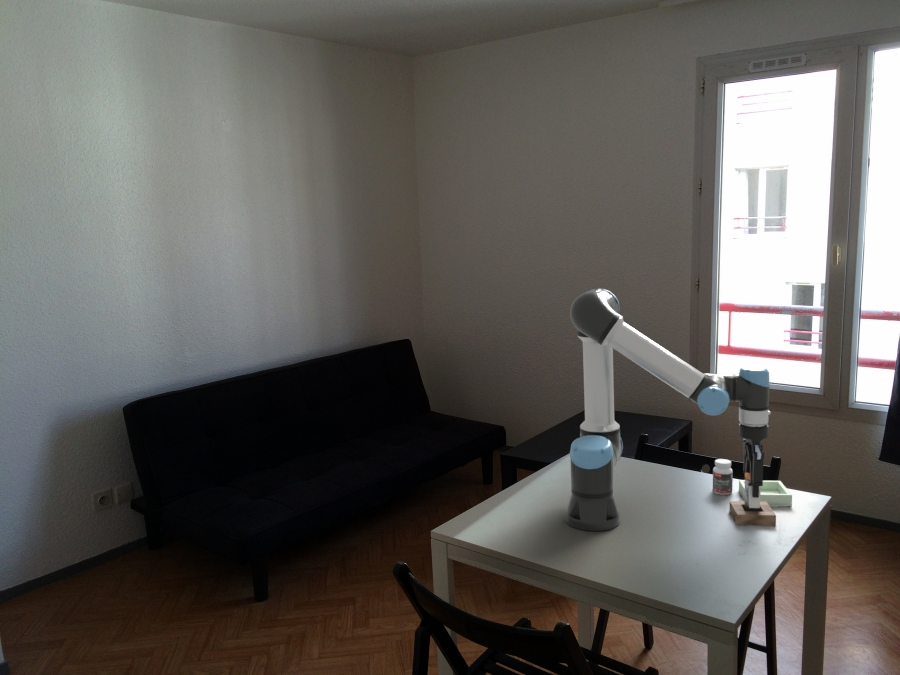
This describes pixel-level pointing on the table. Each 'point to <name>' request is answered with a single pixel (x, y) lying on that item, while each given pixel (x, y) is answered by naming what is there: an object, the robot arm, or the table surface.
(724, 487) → the pill bottle
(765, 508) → the socket
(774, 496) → the tray
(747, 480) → the pin
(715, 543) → the table surface
